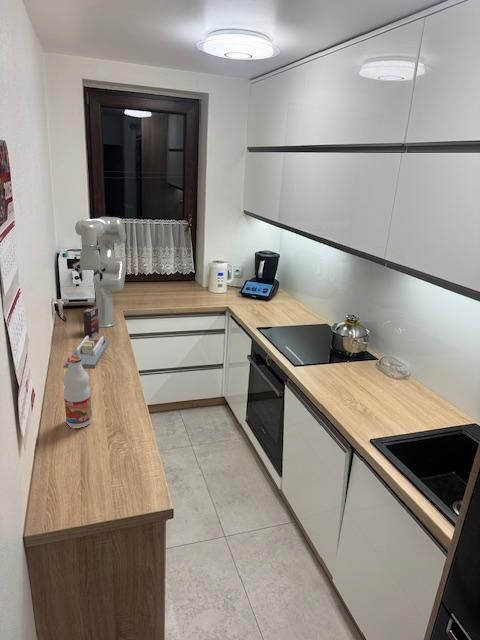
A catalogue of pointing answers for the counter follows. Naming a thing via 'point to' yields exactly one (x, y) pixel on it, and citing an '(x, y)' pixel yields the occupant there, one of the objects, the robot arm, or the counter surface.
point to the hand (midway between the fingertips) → (91, 280)
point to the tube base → (96, 355)
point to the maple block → (88, 347)
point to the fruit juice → (77, 394)
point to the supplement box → (91, 322)
